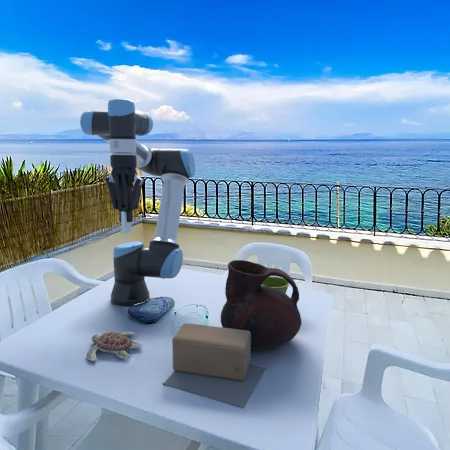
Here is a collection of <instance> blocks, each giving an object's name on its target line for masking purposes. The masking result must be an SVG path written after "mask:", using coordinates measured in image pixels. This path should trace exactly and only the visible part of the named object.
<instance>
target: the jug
mask: <svg viewBox="0 0 450 450" xmlns="http://www.w3.org/2000/svg"><path fill="white" fill-rule="evenodd" d="M227 269H228V271H227V272H228V273H227V278H226V280H225V281H226V282H225V289H224V291H225V299H226V302H225V303H224V305H223V306H222V310H221V312H220V313H221V314H220V324H221V327H223V328H231V329H239V330H248V331H250V333H251V349H254V350H271V349H275V348H279V347H282V346H284V345H286V344H287V343H289V342H291V341H292V340H293V339H294V338H295V337H296V335H298V333H299V331H300V329H301V327H302V326H301V325H302V316H301V312H300V309H299V307H298V302H299V300H300V291H299V288H298V286H297V284H296V282H295V280H294V279H293V278H292V277H291V275H289V274H288V273H287V272H285V271H284V270H282V269H280V268H276V267H274V268H272V267H267V266H264V265H262V264H259V263H257V262H253V261H248V260H244V259H243V260H242V259H234V260H231V261H230V262H228V263H227ZM267 277H281V278H284V279H285V280H286V281H287V282H288V283H289V286H291V288H292V293H291V296H289V295H288V294H287V293H286V294H285V293H283V292H282V291H280V290H278V289H276V288H273V287H269V286H263V285H261V284H262V283H263V282H264V280H265V279H266V278H267Z"/></svg>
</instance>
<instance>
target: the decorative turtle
mask: <svg viewBox="0 0 450 450" xmlns="http://www.w3.org/2000/svg"><path fill="white" fill-rule="evenodd" d="M135 334H136V332H134V331H120V332H119V331H118V332H117V331H107V332H105V333H103V334H94V335H92V336H91V341H92V342H93V343H94V344H95V345H93V346H92V347H91V348H90V349H89V350H88V351H87V352H86V355H85V357H86V359H87V360H88V361H91V362H97V360H98V357H97V355H96V353H97V351H98V350H99V351H101V352H104V353H109V354H114V355H116V357H118V358H121V359H126V358H129V356H130V354H129V353H128V352H127V351H129V350H130V348H131V347H134V348H138V349H141V348H142V347H143V346H142V344H141V343H139V342H137V341H133V340H132V339H131V338H130V337H128V336H135Z"/></svg>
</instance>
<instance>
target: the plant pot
mask: <svg viewBox="0 0 450 450" xmlns="http://www.w3.org/2000/svg"><path fill="white" fill-rule="evenodd" d="M261 285H263V286H269V287H273V288H276V289H278V290H280V291H282V292H283V293H285V294H286V295H287V290H288V287H289V286H290V284H289V283H288V282H287V281H286V280H285V279H284V278H282V277H279V276H270V277H267V278H266V279H265V280H264V282H263V283H262V284H261Z"/></svg>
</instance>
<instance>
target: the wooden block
mask: <svg viewBox="0 0 450 450" xmlns="http://www.w3.org/2000/svg"><path fill="white" fill-rule="evenodd" d="M251 350H252V348H251V333H250V331H248V330H239V329H231V328H223V327H222V326H213V325H205V324H204V325H203V324H198V323H197V324H196V323H187V322H185V323H183V324H182V325H181V326H180V327H179V329H178V330H177V332H176V333H175V334H174V336H173V337H172V370H173V371H174V372H175V371H179V372H186V373H192V374H199V375H206V376H213V377H219V378H226V379H233V380H239V381H243V380H244V379H245V377H246V374H247V371H248V367H249V364H251V357H252V356H251V353H252V351H251Z"/></svg>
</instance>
